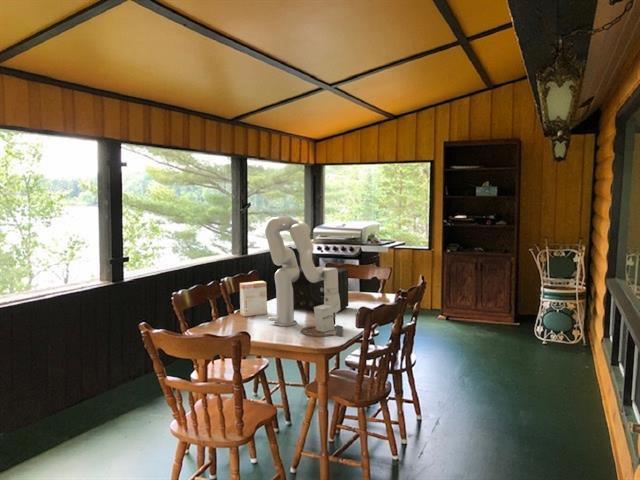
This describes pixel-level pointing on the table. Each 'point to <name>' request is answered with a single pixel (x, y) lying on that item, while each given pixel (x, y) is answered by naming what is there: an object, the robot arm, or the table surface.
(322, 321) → the supplement box
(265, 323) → the table surface
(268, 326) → the table surface
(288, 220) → the robot arm
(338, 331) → the collar
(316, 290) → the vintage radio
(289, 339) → the table surface
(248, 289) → the coffeecake box
